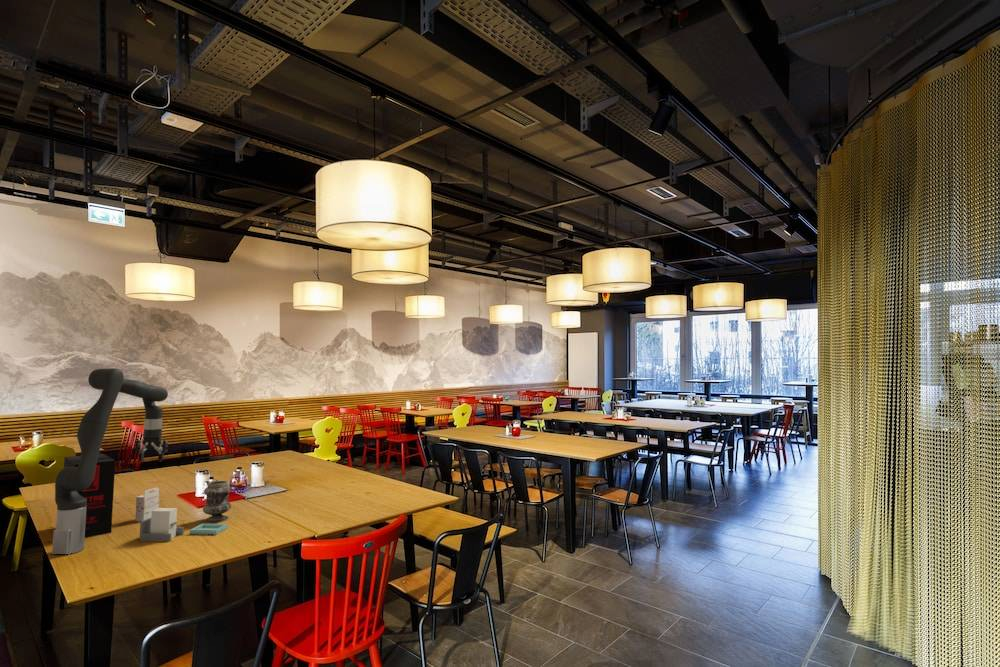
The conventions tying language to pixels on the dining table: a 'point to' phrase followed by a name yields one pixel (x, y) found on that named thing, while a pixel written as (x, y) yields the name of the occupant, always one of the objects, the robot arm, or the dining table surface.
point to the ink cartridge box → (147, 504)
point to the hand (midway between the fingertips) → (150, 461)
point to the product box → (98, 495)
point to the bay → (147, 536)
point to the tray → (208, 529)
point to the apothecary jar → (217, 501)
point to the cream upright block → (164, 521)
